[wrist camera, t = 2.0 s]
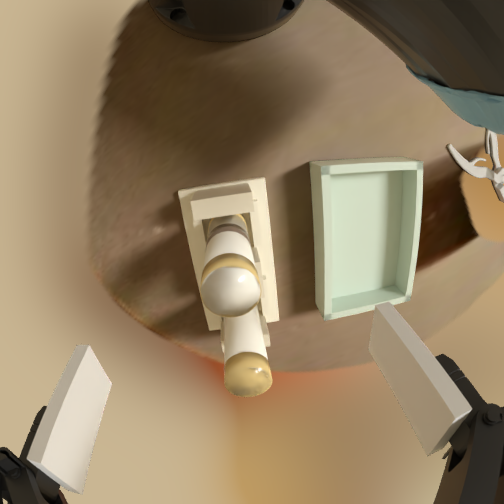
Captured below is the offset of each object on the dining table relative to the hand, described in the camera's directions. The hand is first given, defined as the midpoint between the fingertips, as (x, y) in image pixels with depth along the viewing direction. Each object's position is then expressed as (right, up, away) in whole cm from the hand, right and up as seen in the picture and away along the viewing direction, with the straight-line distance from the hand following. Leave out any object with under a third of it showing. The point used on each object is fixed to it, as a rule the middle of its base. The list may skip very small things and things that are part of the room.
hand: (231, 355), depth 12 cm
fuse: (0, 0, +19) cm, 19 cm away
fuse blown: (-1, +7, +15) cm, 17 cm away
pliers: (+33, +17, +16) cm, 40 cm away
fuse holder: (-1, +4, +18) cm, 18 cm away
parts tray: (+13, +7, +18) cm, 23 cm away
